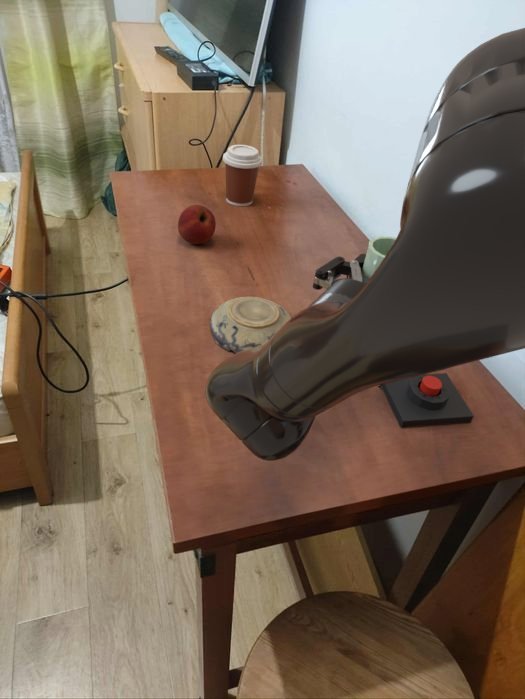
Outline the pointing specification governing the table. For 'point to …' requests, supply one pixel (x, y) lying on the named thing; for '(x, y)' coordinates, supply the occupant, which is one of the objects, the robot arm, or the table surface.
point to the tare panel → (426, 402)
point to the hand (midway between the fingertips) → (391, 267)
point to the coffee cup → (241, 174)
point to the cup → (376, 254)
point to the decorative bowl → (246, 322)
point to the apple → (196, 224)
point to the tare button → (430, 385)
